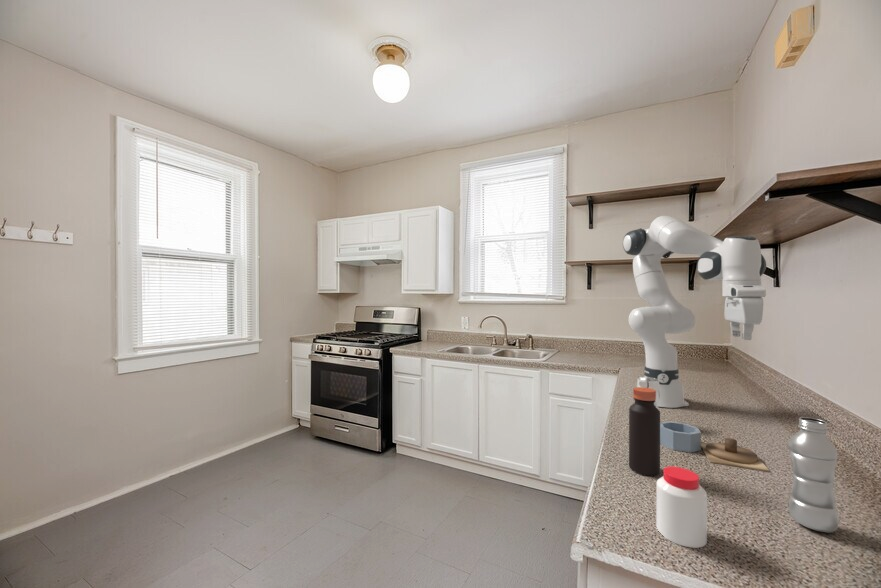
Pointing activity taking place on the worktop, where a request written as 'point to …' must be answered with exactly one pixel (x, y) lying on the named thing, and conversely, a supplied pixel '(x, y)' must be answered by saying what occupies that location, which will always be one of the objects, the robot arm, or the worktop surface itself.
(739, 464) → the tan flat square piece
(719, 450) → the lid
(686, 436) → the bowl
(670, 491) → the pill bottle
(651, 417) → the vinegar
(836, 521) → the plastic bottle
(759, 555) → the worktop surface
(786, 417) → the worktop surface
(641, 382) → the beer glass
